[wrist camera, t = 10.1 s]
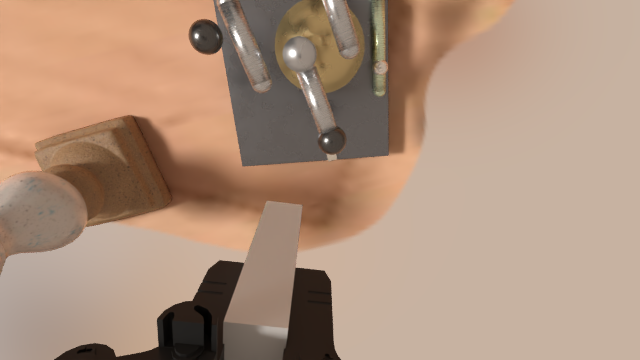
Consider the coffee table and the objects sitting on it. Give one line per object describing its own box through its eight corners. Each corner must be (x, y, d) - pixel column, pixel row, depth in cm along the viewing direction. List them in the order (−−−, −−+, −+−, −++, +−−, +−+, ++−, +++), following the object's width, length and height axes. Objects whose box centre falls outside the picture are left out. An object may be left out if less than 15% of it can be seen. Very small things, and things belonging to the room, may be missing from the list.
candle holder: (132, 113, 36) (-166, 211, 14) (174, 200, 40) (-9, 386, 18) (44, 138, 37) (-361, 267, 15) (93, 221, 41) (-174, 420, 19)
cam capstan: (270, 154, 36) (254, 186, 27) (210, 20, 31) (169, 9, 23) (400, 107, 34) (426, 126, 25) (358, -43, 29) (373, -81, 21)
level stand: (207, -68, 30) (191, -85, 27) (383, -85, 30) (392, -105, 26) (246, 161, 38) (238, 173, 34) (385, 150, 38) (392, 161, 34)
